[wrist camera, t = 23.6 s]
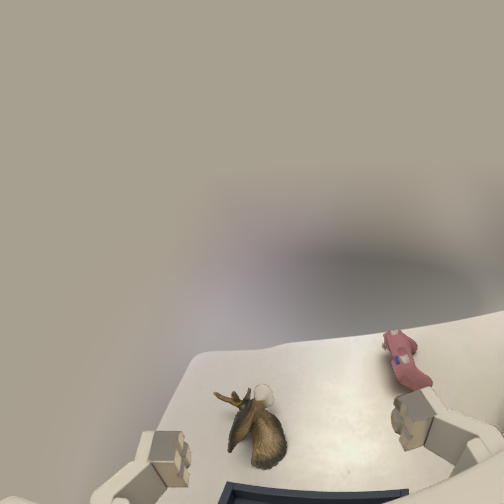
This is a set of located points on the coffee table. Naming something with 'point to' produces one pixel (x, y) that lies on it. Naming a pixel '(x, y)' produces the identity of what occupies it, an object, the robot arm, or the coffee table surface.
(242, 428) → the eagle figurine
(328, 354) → the coffee table surface
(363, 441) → the coffee table surface
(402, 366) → the video game controller
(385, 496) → the tray
